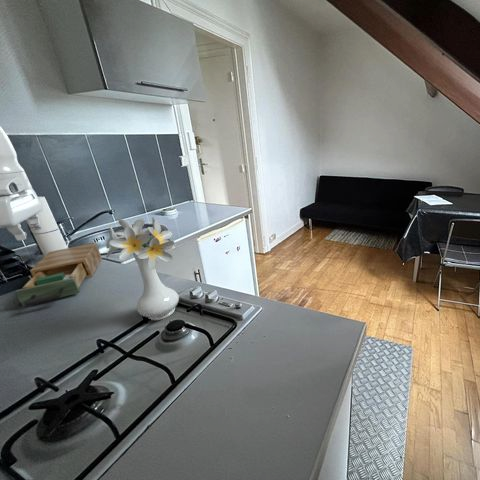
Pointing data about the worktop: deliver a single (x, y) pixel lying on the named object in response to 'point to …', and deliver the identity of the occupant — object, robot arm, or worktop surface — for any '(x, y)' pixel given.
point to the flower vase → (147, 264)
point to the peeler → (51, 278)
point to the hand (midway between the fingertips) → (30, 234)
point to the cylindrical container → (48, 231)
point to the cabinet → (71, 259)
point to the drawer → (52, 285)
